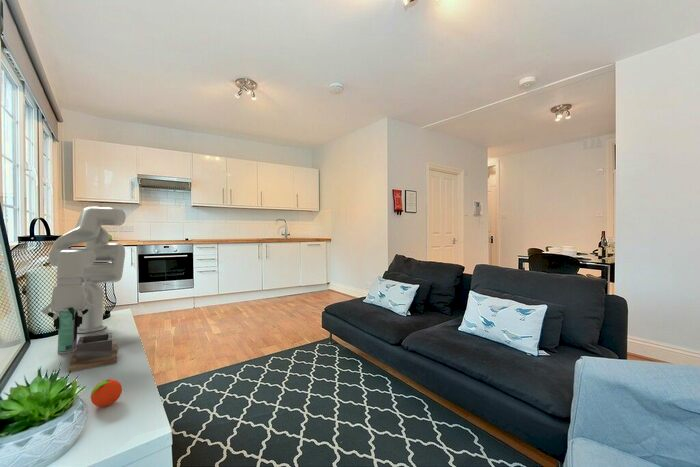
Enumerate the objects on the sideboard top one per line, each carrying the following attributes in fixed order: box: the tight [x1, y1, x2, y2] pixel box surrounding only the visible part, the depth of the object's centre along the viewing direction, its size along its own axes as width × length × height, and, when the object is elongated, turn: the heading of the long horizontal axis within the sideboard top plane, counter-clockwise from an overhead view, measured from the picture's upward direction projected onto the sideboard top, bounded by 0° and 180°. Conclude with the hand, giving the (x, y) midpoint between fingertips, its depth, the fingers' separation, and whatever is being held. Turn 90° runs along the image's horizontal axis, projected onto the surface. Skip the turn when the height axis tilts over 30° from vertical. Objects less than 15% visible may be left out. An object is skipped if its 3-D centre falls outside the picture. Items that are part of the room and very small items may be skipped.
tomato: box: [90, 378, 123, 408], centre depth 84 cm, size 8×7×7 cm
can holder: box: [67, 332, 118, 373], centre depth 115 cm, size 20×13×7 cm, turn 37°
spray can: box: [57, 307, 78, 355], centre depth 119 cm, size 6×6×20 cm
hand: (68, 326), depth 119 cm, fingers closed on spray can, 5 cm apart
